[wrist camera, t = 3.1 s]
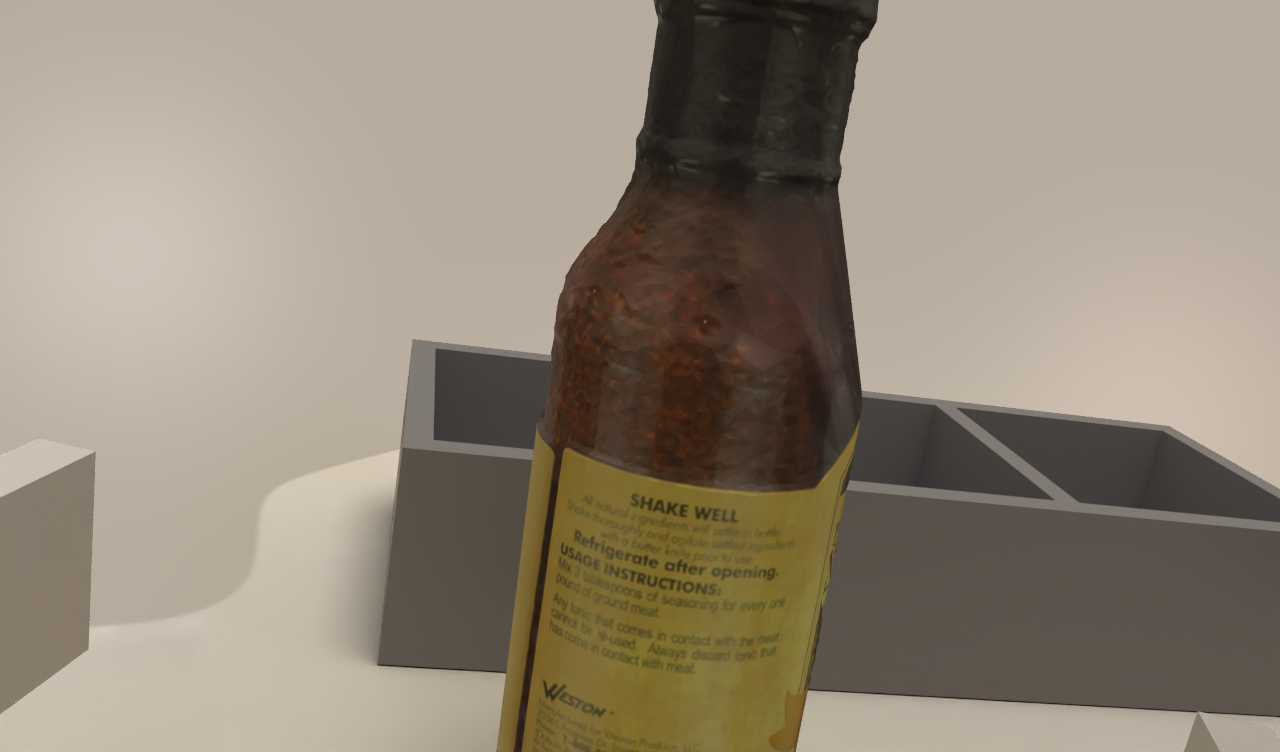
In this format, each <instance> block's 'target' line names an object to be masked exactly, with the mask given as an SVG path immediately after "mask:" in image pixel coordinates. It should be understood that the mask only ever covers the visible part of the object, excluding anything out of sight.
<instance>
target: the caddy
mask: <svg viewBox="0 0 1280 752" xmlns="http://www.w3.org/2000/svg"><path fill="white" fill-rule="evenodd" d="M551 359H552V357H551V355H543V354H536V353H527V352H518V351H509V350H501V349H492V348H483V347H475V346H466V345H457V344H448V343H439V342H431V341H422V340H414V339H413V341H412V350H411V359H410V368H409V376H408V385H407V394H406V403H405V411H404V420H403V429H402V437H401V446H400V455H399V464H398V472H397V481H396V490H395V499H394V507H393V517H392V527H391V537H390V547H389V557H388V567H387V577H386V587H385V597H384V607H383V616H382V626H381V636H380V646H379V656H378V664H381V665H398V666H415V667H433V668H450V669H468V670H485V671H503V672H507V663H508V655H509V647H510V639H511V631H512V623H513V615H514V606H515V598H516V590H517V582H518V574H519V566H520V557H521V549H522V541H523V533H524V525H525V516H526V508H527V500H528V492H529V484H530V476H531V468H532V460H533V452H534V444H535V436H536V428H537V422H538V420H539V418H540V416H541V414H542V413H543V412H544V411H545V407H546V398H547V390H548V376H549V367H550V364H551ZM862 399H863V404H862V411H861V417H860V423H859V428H858V434H857V439H856V444H855V450H854V457H853V462H852V466H851V470H850V480H849V484H848V487H847V489H846V494H845V500H844V505H843V510H842V515H841V520H840V525H839V530H838V535H837V541H836V552H835V554H834V557H833V561H832V567H831V578H830V581H829V584H828V589H827V594H826V600H825V602H824V604H823V607H822V623H821V630H820V633H819V642H818V645H817V650H816V657H815V661H814V664H813V668H812V672H811V679H810V684H809V686H808V689H817V690H835V691H852V692H870V693H887V694H904V695H922V696H939V697H957V698H974V699H992V700H1009V701H1027V702H1044V703H1062V704H1079V705H1097V706H1114V707H1131V708H1149V709H1166V710H1184V711H1201V712H1219V713H1236V714H1254V715H1271V716H1280V489H1278V488H1277V487H1275V486H1273V485H1271V484H1270V483H1268V482H1266V481H1264V480H1263V479H1261V478H1259V477H1257V476H1256V475H1254V474H1252V473H1250V472H1249V471H1247V470H1245V469H1243V468H1242V467H1239V466H1238V465H1236V464H1235V463H1233V462H1231V461H1229V460H1228V459H1226V458H1224V457H1222V456H1221V455H1219V454H1217V453H1215V452H1213V451H1212V450H1210V449H1208V448H1206V447H1205V446H1203V445H1201V444H1199V443H1198V442H1196V441H1194V440H1192V439H1190V438H1189V437H1187V436H1185V435H1184V434H1182V433H1180V432H1178V431H1176V430H1174V429H1173V428H1171V427H1170V426H1162V425H1155V424H1145V423H1137V422H1128V421H1120V420H1111V419H1102V418H1094V417H1085V416H1075V415H1067V414H1059V413H1050V412H1041V411H1033V410H1032V411H1031V410H1024V409H1015V408H1006V407H997V406H989V405H980V404H972V403H963V402H954V401H944V400H937V399H928V398H918V397H911V396H910V397H909V396H902V395H892V394H884V393H875V392H866V391H862Z"/></svg>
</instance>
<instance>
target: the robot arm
mask: <svg viewBox="0 0 1280 752" xmlns="http://www.w3.org/2000/svg"><path fill="white" fill-rule="evenodd" d="M95 453H96V452H95V451H91V450H87V449H83V448H79V447H75V446H70V445H66V444H62V443H58V442H53V441H49V440H45V439H41V438H39V439H36V440H34V441H32V442H30V443H27V444H25V445H23V446H20V447H18V448H16V449H13V450H11V451H9V452H7V453H4V454H2V455H0V714H1V713H2V712H4V711H5V710H7V709H8V708H9V707H11V706H12V705H13V704H15V703H16V702H17V701H19V700H20V699H21V698H23V697H24V696H26V695H27V694H28V693H30V692H31V691H32V690H34V689H35V688H36V687H38V686H39V685H40V684H42V683H43V682H45V681H46V680H47V679H49V678H50V677H51V676H53V675H54V674H55V673H57V672H58V671H59V670H61V669H62V668H64V667H65V666H66V665H68V664H69V663H70V662H72V661H73V660H74V659H76V658H77V657H78V656H80V655H81V654H82V653H84V652H85V651H87V650H88V646H89V618H90V591H91V564H92V563H91V562H92V536H93V535H92V534H93V508H94V481H95V480H94V479H95ZM1184 752H1280V740H1279V739H1278V737H1277V736H1276V734H1275V733H1274V731H1273V730H1272V729H1271V728H1267V727H1263V726H1259V725H1254V724H1250V723H1246V722H1242V721H1237V720H1233V719H1229V718H1225V717H1221V716H1216V715H1212V714H1208V713H1204V712H1199V711H1198V713H1197V716H1196V718H1195V721H1194V724H1193V727H1192V730H1191V733H1190V736H1189V739H1188V742H1187V745H1186V748H1185V750H1184Z"/></svg>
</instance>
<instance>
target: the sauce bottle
mask: <svg viewBox="0 0 1280 752" xmlns="http://www.w3.org/2000/svg"><path fill="white" fill-rule="evenodd" d="M878 1H879V0H654V4H655V9H656V13H657V16H658V21H659V22H658V28H657V33H656V40H655V48H654V54H653V62H652V67H651V72H650V81H649V88H648V100H647V106H646V112H645V119H644V126H643V128H642V130H641V131H640V133H639V135H638V137H637V139H636V162H635V170H634V172H633V175H632V179H631V182H630V183H629V185H628V186H627V188H626V190H625V193H624V195H623V196H622V198H621V199H620V201H619V203H618V205H617V208H616V210H615V211H614V213H613V214H612V216H611V217H610V218H609V220H608V221H607V222H606V223H605V224H603V225H602V227H601V228H600V229H599V231H598V233H597V235H596V236H595V237H594V238H592V239H591V240H590V242H589V243H588V244H587V245H586V246H585V247H584V249H583V250H582V252H581V253H580V254H579V256H578V257H577V259H576V260H575V262H574V263H573V264H572V266H571V268H570V270H569V272H568V274H567V275H566V280H565V284H564V288H563V291H562V293H561V294H560V297H559V300H558V306H557V313H556V323H555V327H554V332H555V333H554V334H555V335H554V341H553V347H552V351H551V357H552V359H551V364H550V367H549V376H548V390H547V398H546V407H545V411H544V412H543V413H542V414H541V416H540V418H539V420H538V422H537V428H536V436H535V444H534V452H533V460H532V468H531V476H530V484H529V492H528V500H527V508H526V516H525V525H524V533H523V541H522V549H521V557H520V566H519V574H518V582H517V590H516V598H515V606H514V615H513V623H512V631H511V639H510V647H509V655H508V663H507V672H506V680H505V688H504V696H503V704H502V712H501V721H500V729H499V737H498V745H497V752H796V747H797V742H798V737H799V731H800V726H801V721H802V716H803V711H804V706H805V701H806V696H807V691H808V686H809V684H810V679H811V672H812V668H813V664H814V661H815V657H816V650H817V645H818V642H819V633H820V630H821V623H822V607H823V604H824V602H825V600H826V594H827V589H828V584H829V581H830V578H831V567H832V561H833V557H834V554H835V552H836V541H837V535H838V530H839V525H840V520H841V515H842V510H843V505H844V500H845V494H846V489H847V487H848V484H849V480H850V470H851V466H852V462H853V457H854V450H855V444H856V439H857V434H858V428H859V423H860V417H861V411H862V404H863V399H862V390H861V382H860V372H859V364H858V355H857V347H856V338H855V330H854V321H853V312H852V303H851V295H850V286H849V278H848V269H847V260H846V252H845V244H844V236H843V227H842V219H841V211H840V203H839V196H838V183H839V180H840V177H841V169H842V168H841V164H840V153H841V150H842V146H843V140H844V131H845V128H846V125H847V120H848V113H849V105H850V102H851V99H852V93H853V90H854V80H855V69H856V64H857V62H858V50H859V48H860V46H861V44H862V43H863V42H864V41H865V40H866V39H867V38H868V37H869V34H870V32H871V30H872V28H873V27H874V25H875V23H876V21H877V11H878Z"/></svg>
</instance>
